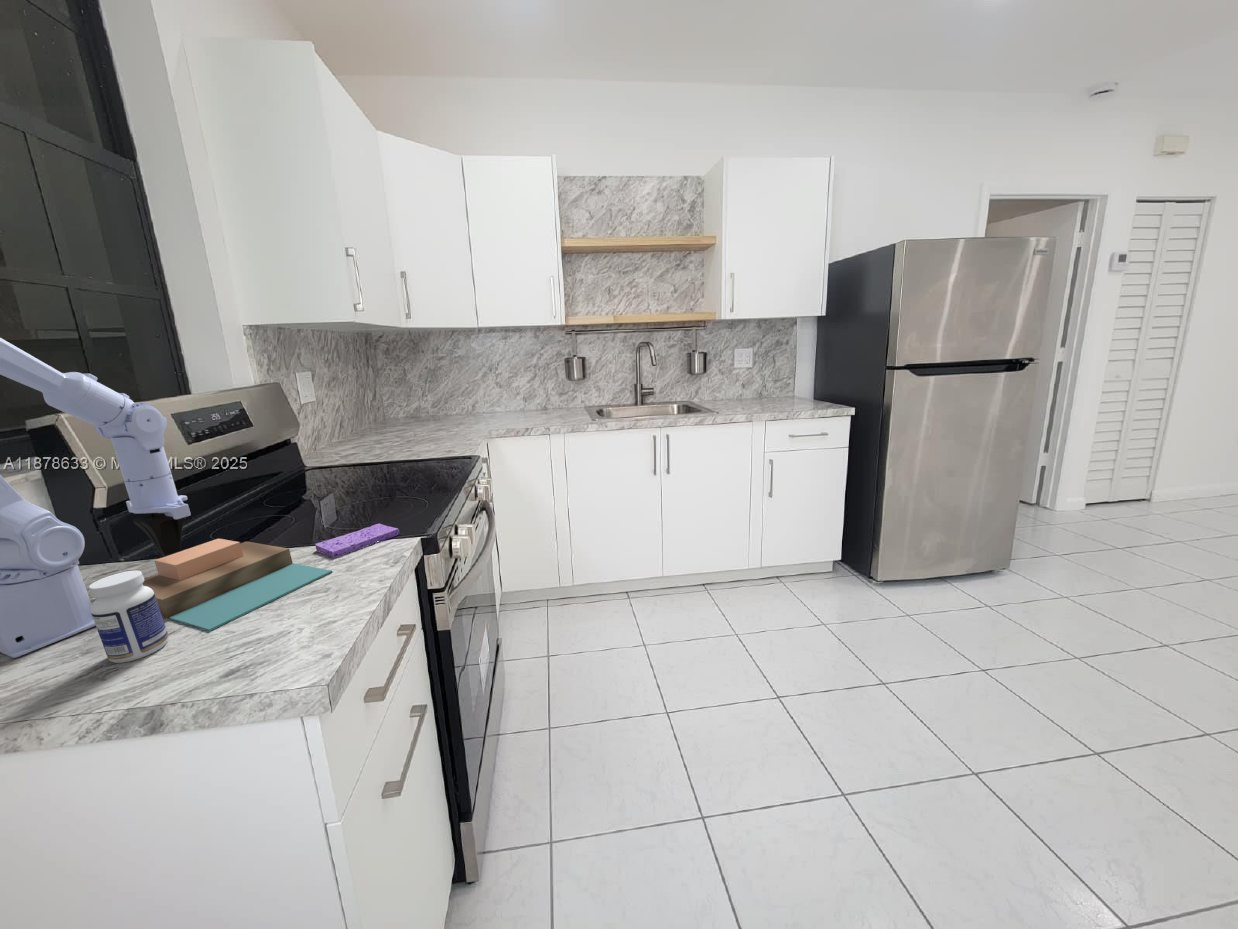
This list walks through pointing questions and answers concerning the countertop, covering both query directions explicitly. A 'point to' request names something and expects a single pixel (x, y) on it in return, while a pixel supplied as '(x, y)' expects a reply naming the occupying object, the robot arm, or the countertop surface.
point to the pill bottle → (127, 617)
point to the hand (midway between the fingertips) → (171, 554)
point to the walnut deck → (217, 578)
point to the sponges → (356, 540)
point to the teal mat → (249, 597)
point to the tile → (198, 559)
